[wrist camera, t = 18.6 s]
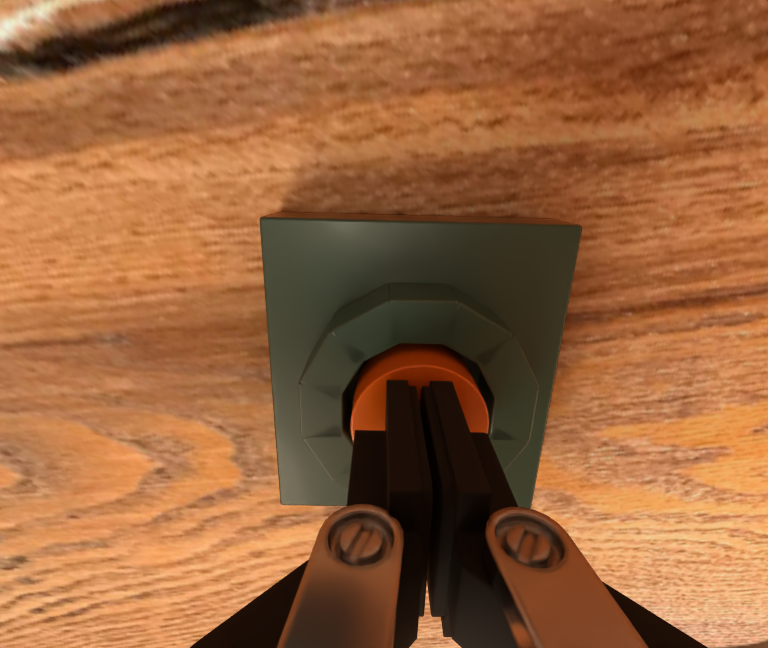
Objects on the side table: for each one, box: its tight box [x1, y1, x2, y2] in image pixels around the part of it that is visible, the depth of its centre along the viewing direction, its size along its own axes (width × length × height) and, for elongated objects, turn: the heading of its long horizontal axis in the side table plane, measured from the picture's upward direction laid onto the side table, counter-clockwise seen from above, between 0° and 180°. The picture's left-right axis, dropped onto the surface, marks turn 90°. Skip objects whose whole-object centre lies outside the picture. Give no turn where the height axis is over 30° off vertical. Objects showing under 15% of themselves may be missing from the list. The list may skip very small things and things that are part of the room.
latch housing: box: [260, 212, 582, 509], centre depth 13 cm, size 10×9×4 cm
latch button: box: [350, 343, 489, 443], centre depth 11 cm, size 4×4×2 cm
